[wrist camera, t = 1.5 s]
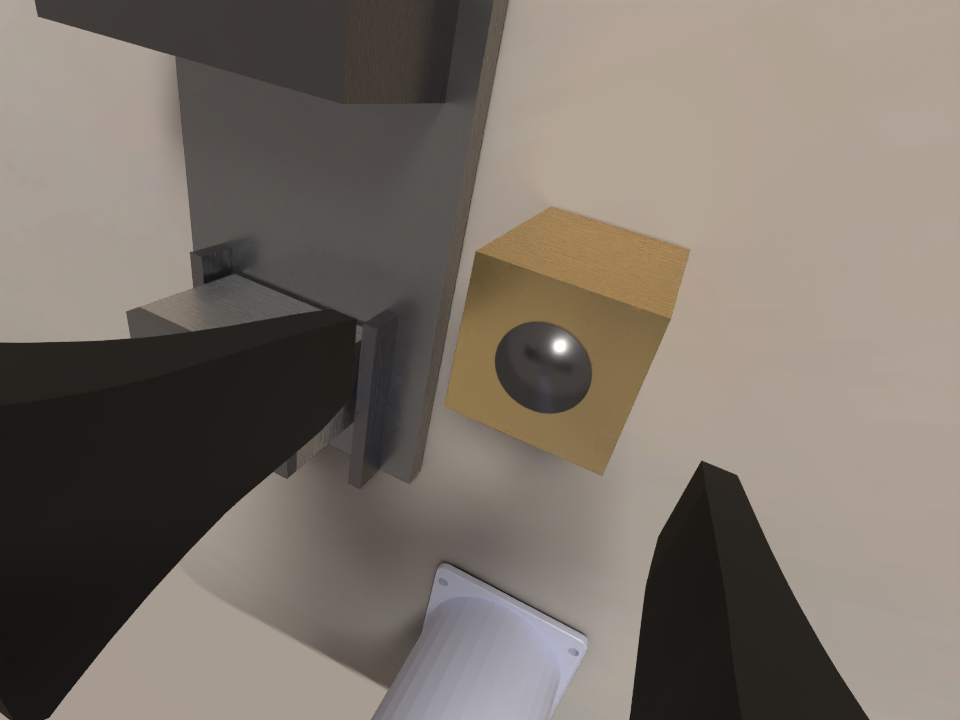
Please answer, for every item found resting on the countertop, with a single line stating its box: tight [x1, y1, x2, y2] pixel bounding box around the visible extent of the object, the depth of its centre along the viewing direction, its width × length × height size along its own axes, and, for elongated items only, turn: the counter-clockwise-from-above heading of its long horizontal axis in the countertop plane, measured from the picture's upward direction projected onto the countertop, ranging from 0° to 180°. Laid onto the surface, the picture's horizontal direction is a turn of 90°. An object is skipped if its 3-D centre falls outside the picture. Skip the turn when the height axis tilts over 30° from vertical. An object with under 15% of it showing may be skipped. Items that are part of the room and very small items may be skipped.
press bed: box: [35, 0, 508, 489], centre depth 18 cm, size 20×12×6 cm, turn 168°
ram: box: [126, 274, 363, 479], centre depth 20 cm, size 4×7×5 cm, turn 78°
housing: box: [445, 207, 690, 476], centre depth 15 cm, size 4×4×6 cm
